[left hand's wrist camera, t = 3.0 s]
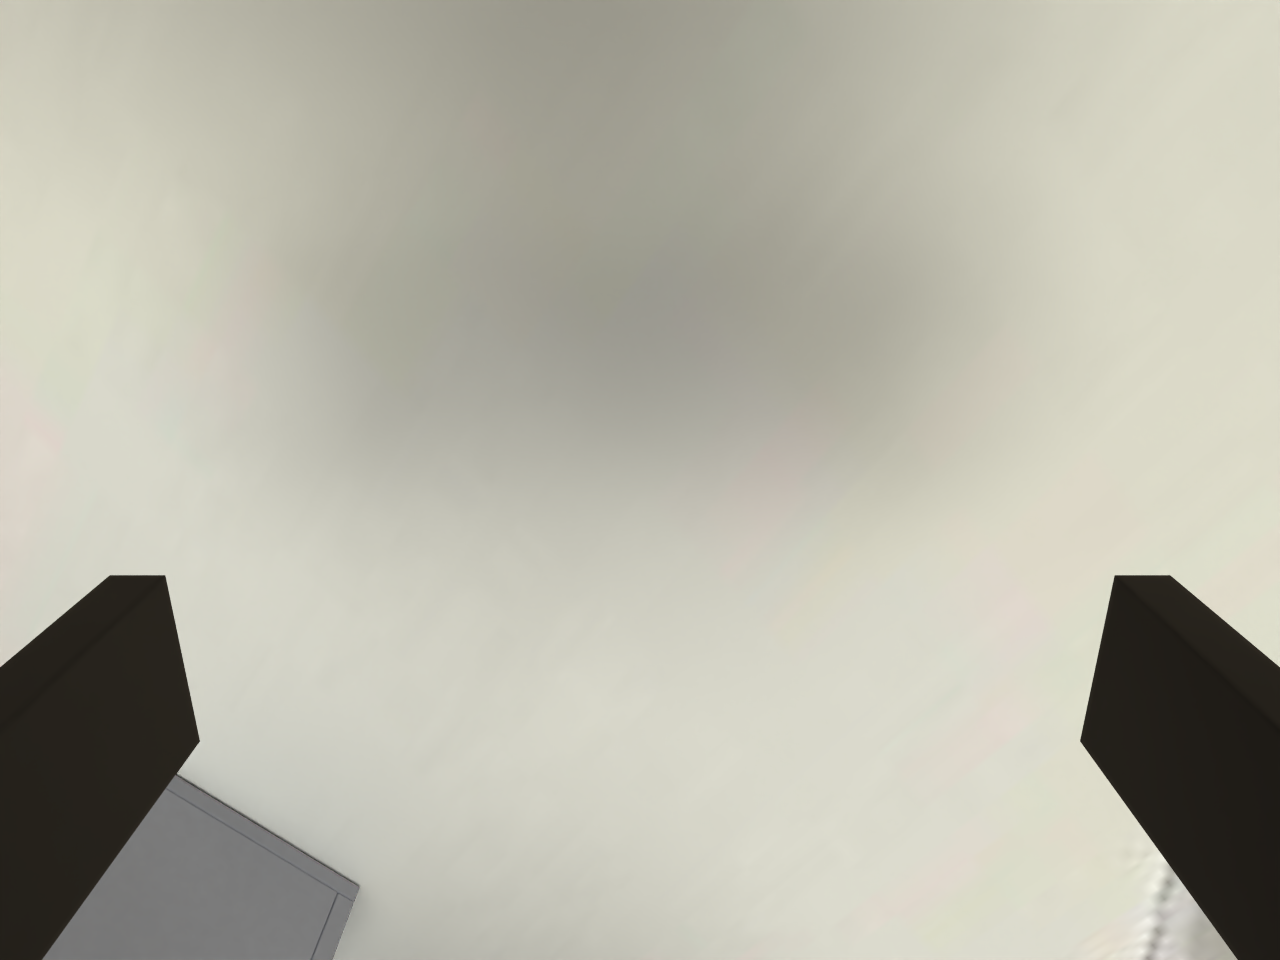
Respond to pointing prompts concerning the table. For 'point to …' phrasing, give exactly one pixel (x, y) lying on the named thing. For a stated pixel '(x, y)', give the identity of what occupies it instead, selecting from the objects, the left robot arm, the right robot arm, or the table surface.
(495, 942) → the table surface
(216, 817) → the chest
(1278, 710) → the left robot arm
